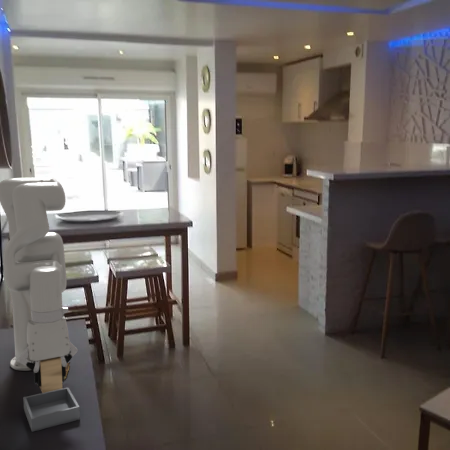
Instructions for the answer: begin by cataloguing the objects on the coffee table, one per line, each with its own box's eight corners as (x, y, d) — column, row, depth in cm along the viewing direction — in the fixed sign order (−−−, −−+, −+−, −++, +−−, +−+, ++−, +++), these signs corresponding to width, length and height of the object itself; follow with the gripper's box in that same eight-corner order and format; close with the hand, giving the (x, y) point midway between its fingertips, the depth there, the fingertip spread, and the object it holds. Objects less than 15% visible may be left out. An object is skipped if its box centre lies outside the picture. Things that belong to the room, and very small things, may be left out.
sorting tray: (23, 409, 134) (23, 397, 134) (68, 398, 140) (68, 387, 139) (31, 431, 124) (31, 418, 123) (80, 419, 130) (79, 406, 129)
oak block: (38, 385, 131) (37, 356, 130) (58, 380, 134) (57, 352, 133) (42, 392, 127) (40, 363, 126) (62, 388, 130) (61, 359, 128)
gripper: (77, 306, 135) (79, 369, 138) (9, 316, 127) (13, 383, 129) (84, 313, 129) (86, 380, 131) (13, 324, 120) (17, 396, 123)
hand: (50, 381), depth 130 cm, fingers closed on oak block, 5 cm apart
